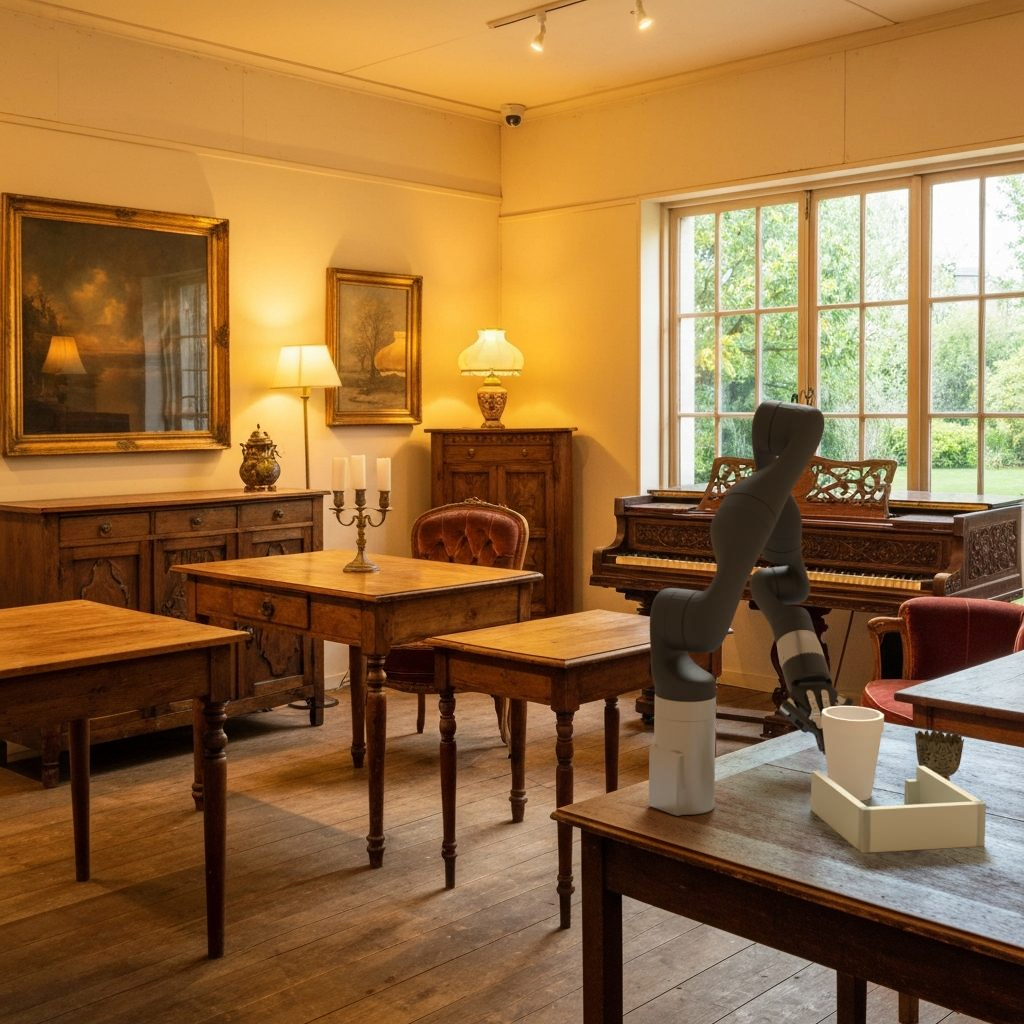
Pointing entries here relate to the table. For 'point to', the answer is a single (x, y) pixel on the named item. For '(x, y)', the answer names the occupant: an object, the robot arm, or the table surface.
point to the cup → (939, 752)
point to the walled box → (903, 815)
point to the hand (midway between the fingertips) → (829, 752)
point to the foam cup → (852, 747)
